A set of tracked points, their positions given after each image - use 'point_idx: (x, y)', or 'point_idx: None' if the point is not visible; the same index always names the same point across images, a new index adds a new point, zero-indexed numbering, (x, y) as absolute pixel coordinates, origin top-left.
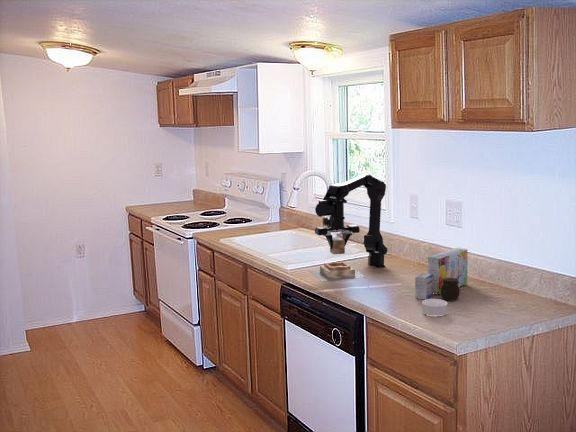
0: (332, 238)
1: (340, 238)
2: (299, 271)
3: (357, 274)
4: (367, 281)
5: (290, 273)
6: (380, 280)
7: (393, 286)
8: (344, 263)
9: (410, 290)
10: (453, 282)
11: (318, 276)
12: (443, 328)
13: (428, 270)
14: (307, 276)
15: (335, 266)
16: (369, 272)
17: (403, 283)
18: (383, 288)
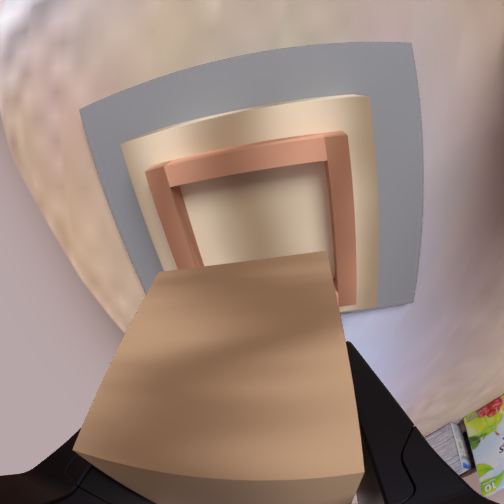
0: (120, 463)
1: (324, 493)
2: (39, 74)
3: (395, 242)
4: (394, 330)
5: (7, 124)
6: (450, 321)
7: (438, 383)
8: (339, 209)
9: (448, 407)
10: (465, 474)
11: (137, 246)
12: (356, 494)
13: (476, 467)
14: (81, 191)
15: (251, 196)
16: (483, 163)
17: (485, 355)
18: (396, 399)
